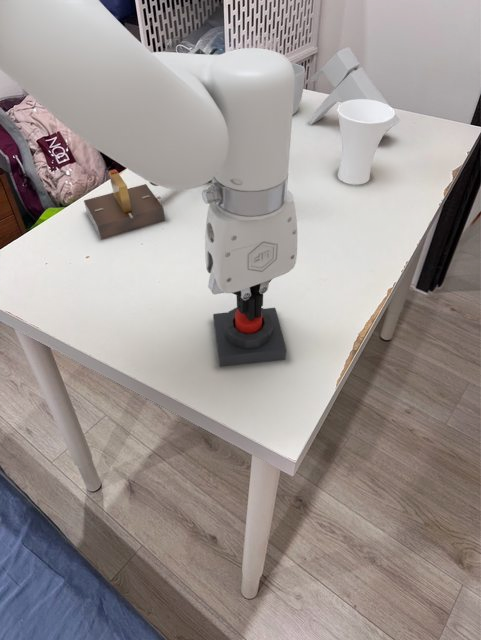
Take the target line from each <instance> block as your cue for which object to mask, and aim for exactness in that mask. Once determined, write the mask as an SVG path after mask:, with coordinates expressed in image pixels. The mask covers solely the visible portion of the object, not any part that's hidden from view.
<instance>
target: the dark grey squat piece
mask: <svg viewBox="0 0 481 640" xmlns="http://www.w3.org/2000/svg"><path fill="white" fill-rule="evenodd" d="M237 310H238V308H237V306H236V307H235V308H233V309H231V310H229V311H227V312H217V313H213V314H212V318H213V319H212V320H213V329H214V336H215V344H216V350H217V357H218V366H219V368H223V367H233V366H240V365H249V364H250V365H251V364H260V363H268V362H279V361H285V360H286V357H287V346H286V343H285V339H284V334H283V331H282V328H281V323H280V320H279V316H278V313H277V308H276V307H268V308H264V307H261V312H262V326H261V328H260V330H259V331H257V332H255V333H252V334H245V333H242V332H240V331H239V330H238V329H237V328H236V325H235V313H236V311H237Z"/></svg>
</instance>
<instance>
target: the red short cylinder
mask: <svg viewBox="0 0 481 640" xmlns="http://www.w3.org/2000/svg"><path fill="white" fill-rule="evenodd" d="M235 325H236V328H237V329H238V330H239V331H240V332H242V333H245V334H252V333H255V332H257V331H259V330H260V328H261V326H262V312H261V317H259V318H254V320H251V321H249V320H248V318H247V317H246V316H245V314H241V313H240V312H239V310H237V311H236V313H235Z"/></svg>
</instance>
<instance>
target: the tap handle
mask: <svg viewBox="0 0 481 640" xmlns="http://www.w3.org/2000/svg"><path fill="white" fill-rule="evenodd" d="M108 176H109V181H110V184H111V188H112V193H114V197H115V198H116V200H117V202H118V203H119V205H120V206H121V208H122V210H123V211H124V213H125V212H129V211H132V208H131V204H130V199H129V194H128V189H129V188H128V185H127V183H126V182H125V180H124V179H123V178H122V176H121V174H120V173H119V172H118V170H117V169H110V170H109V171H108Z"/></svg>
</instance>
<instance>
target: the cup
mask: <svg viewBox="0 0 481 640" xmlns="http://www.w3.org/2000/svg"><path fill="white" fill-rule="evenodd" d="M395 114H396V112H395V110H394V108H393V107H392V106H390V104H389V105H387V104H385V103H382V102H379V101H375V100H368V99H355V100H349V101H346V102H343V103H340V104H338V107H337V116H338V123H339V130H340V138H341V156H340V163H339V167H338V171H337V178H338V179H339V180H340V181H341V182H343V183H345V184H348V185H352V186H353V185H354V186H357V185H359V186H360V185H364V184H366V183H367V182H369V180H370V178H371V169H372V164H373V160H374V157H375V154H376V151H377V150H378V146H379V144H380V142H382V139H383V137H384V135H385V134H386V132H385V131H386V130H387V128H388V126H389V124H390V123H391V121H392V119H393V117H394V115H395Z"/></svg>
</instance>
